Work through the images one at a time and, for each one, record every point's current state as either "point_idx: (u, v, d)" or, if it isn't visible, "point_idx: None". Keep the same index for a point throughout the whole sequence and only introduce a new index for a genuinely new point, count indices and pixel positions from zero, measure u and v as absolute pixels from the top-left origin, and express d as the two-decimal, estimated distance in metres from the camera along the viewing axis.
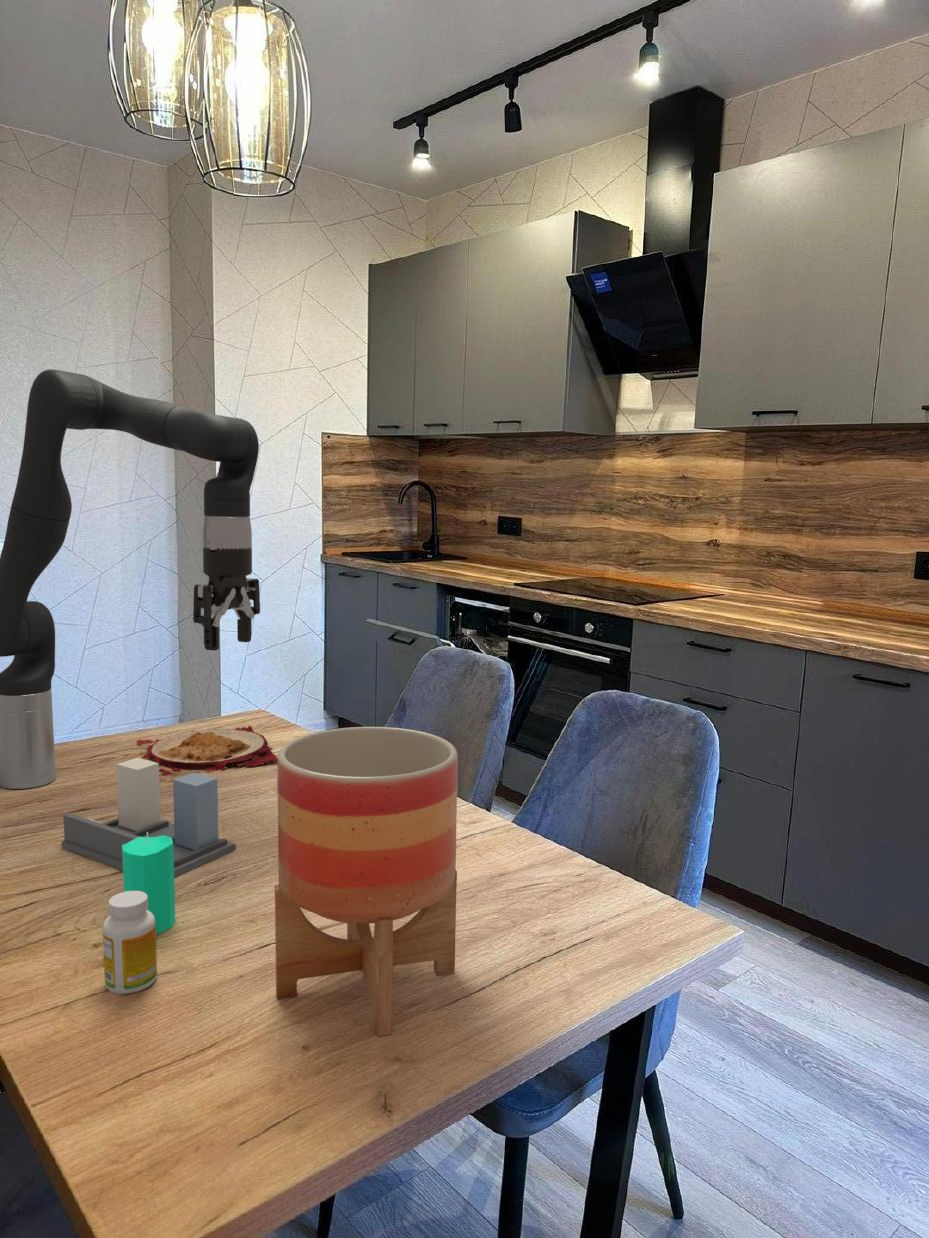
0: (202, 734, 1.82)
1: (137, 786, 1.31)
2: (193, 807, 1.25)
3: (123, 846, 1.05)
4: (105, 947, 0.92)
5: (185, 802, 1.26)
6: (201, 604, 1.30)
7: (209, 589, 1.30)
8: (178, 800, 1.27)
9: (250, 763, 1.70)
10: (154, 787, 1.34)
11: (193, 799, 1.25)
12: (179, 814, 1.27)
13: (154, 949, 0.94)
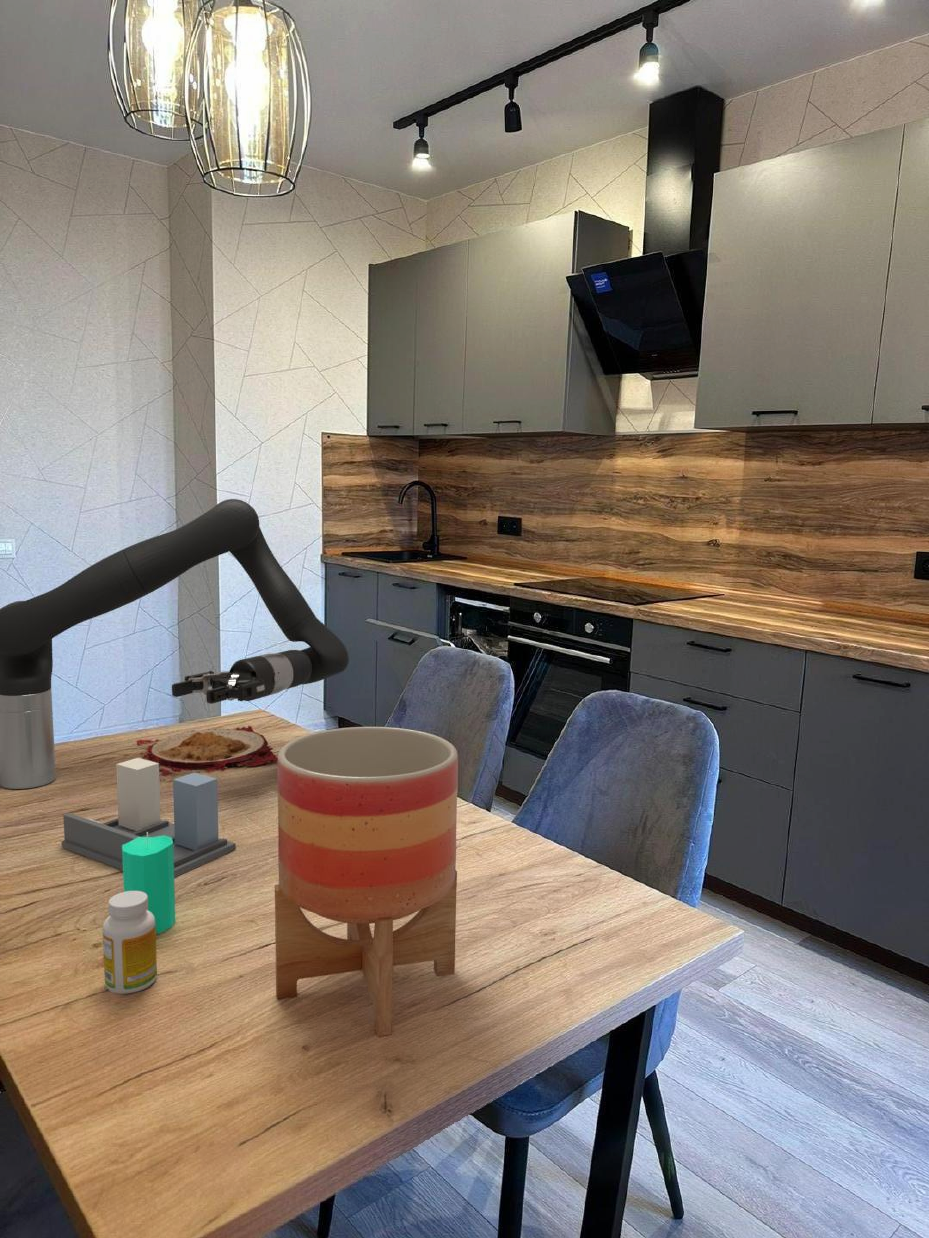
0: (202, 734, 1.82)
1: (137, 786, 1.31)
2: (193, 807, 1.25)
3: (123, 846, 1.05)
4: (105, 947, 0.92)
5: (185, 802, 1.26)
6: (253, 692, 1.44)
7: (261, 694, 1.47)
8: (178, 800, 1.27)
9: (250, 763, 1.70)
10: (154, 787, 1.34)
11: (193, 799, 1.25)
12: (179, 814, 1.27)
13: (154, 949, 0.94)
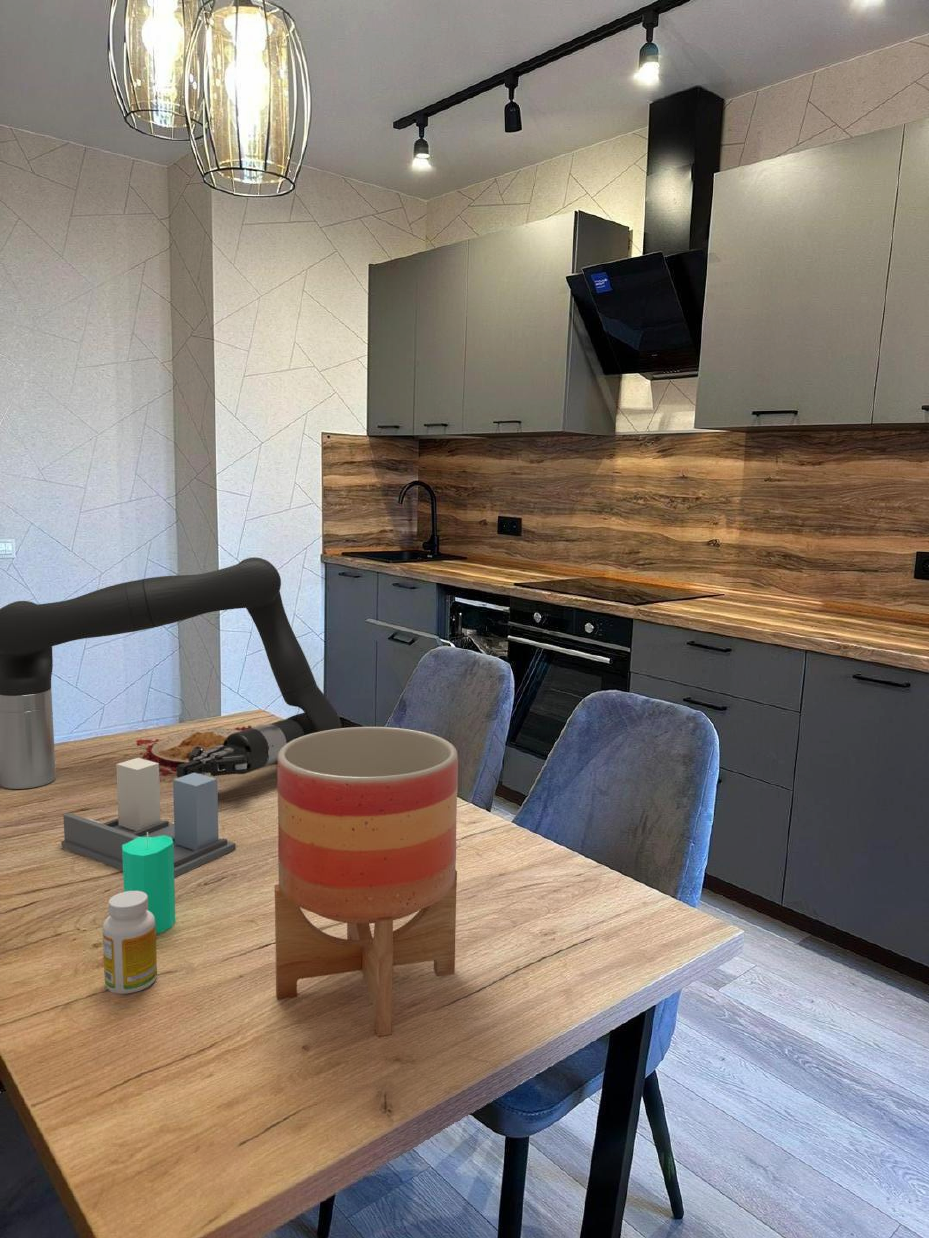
0: (202, 734, 1.82)
1: (137, 786, 1.31)
2: (193, 807, 1.25)
3: (123, 846, 1.05)
4: (105, 947, 0.92)
5: (185, 802, 1.26)
6: (229, 769, 1.45)
7: (243, 772, 1.46)
8: (178, 800, 1.27)
9: None
10: (154, 787, 1.34)
11: (193, 799, 1.25)
12: (179, 814, 1.27)
13: (154, 949, 0.94)
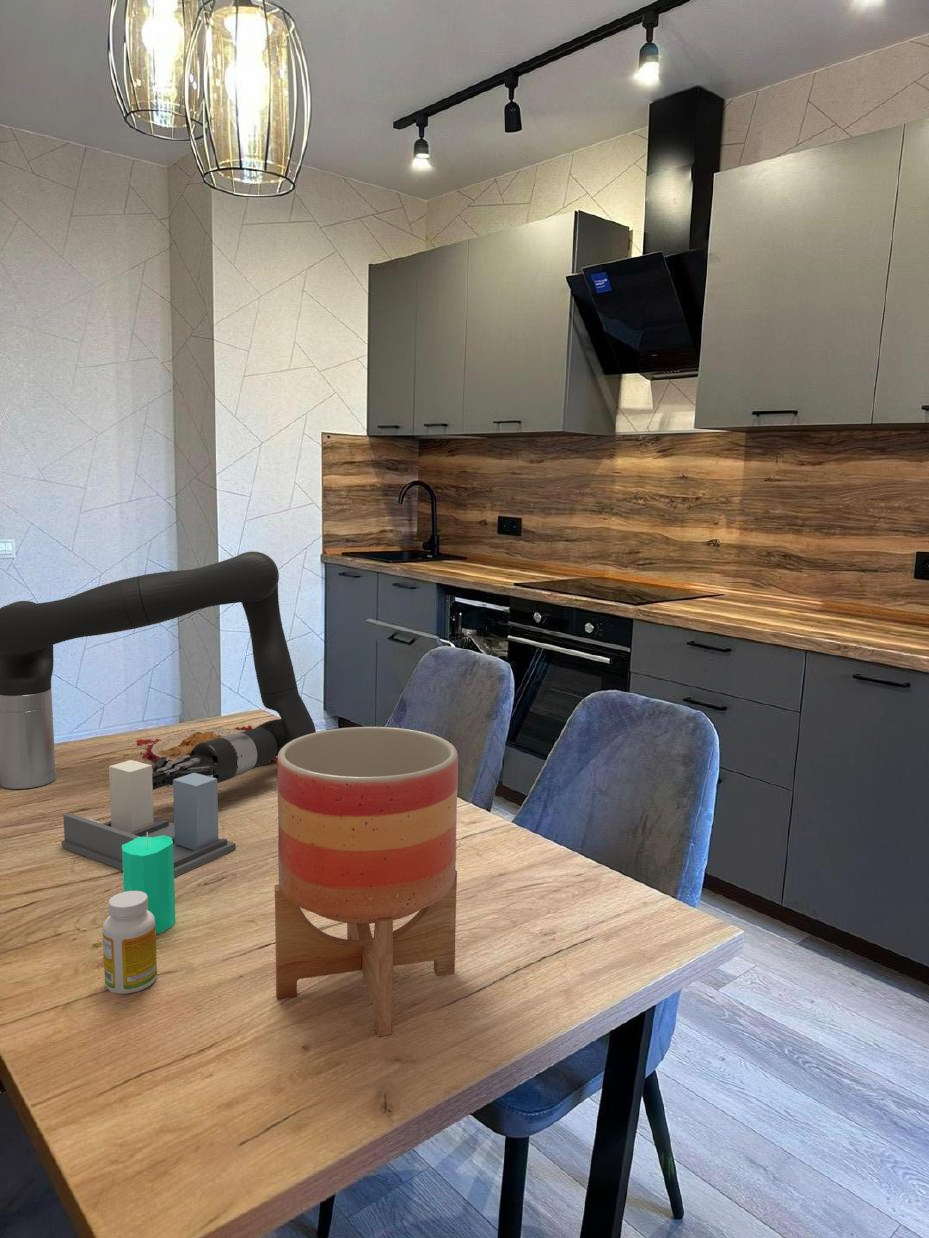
0: (202, 734, 1.82)
1: (129, 788, 1.30)
2: (193, 807, 1.25)
3: (123, 846, 1.05)
4: (105, 947, 0.92)
5: (185, 802, 1.26)
6: None
7: None
8: (178, 800, 1.27)
9: None
10: (147, 789, 1.33)
11: (193, 799, 1.25)
12: (179, 814, 1.27)
13: (154, 949, 0.94)
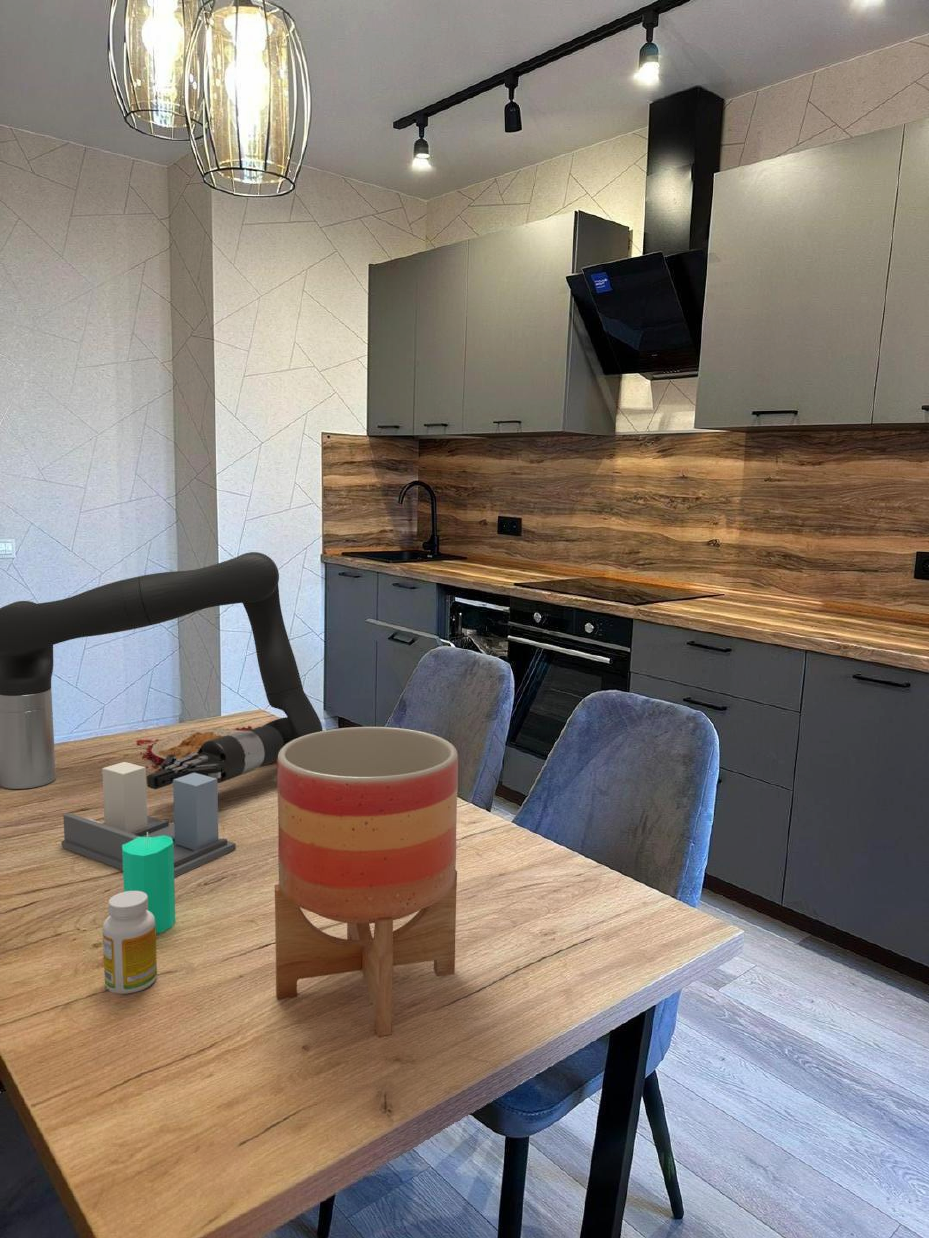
0: (202, 734, 1.82)
1: (123, 790, 1.29)
2: (193, 807, 1.25)
3: (123, 846, 1.05)
4: (105, 947, 0.92)
5: (185, 802, 1.26)
6: None
7: None
8: (178, 800, 1.27)
9: None
10: (141, 792, 1.32)
11: (193, 799, 1.25)
12: (179, 814, 1.27)
13: (154, 949, 0.94)
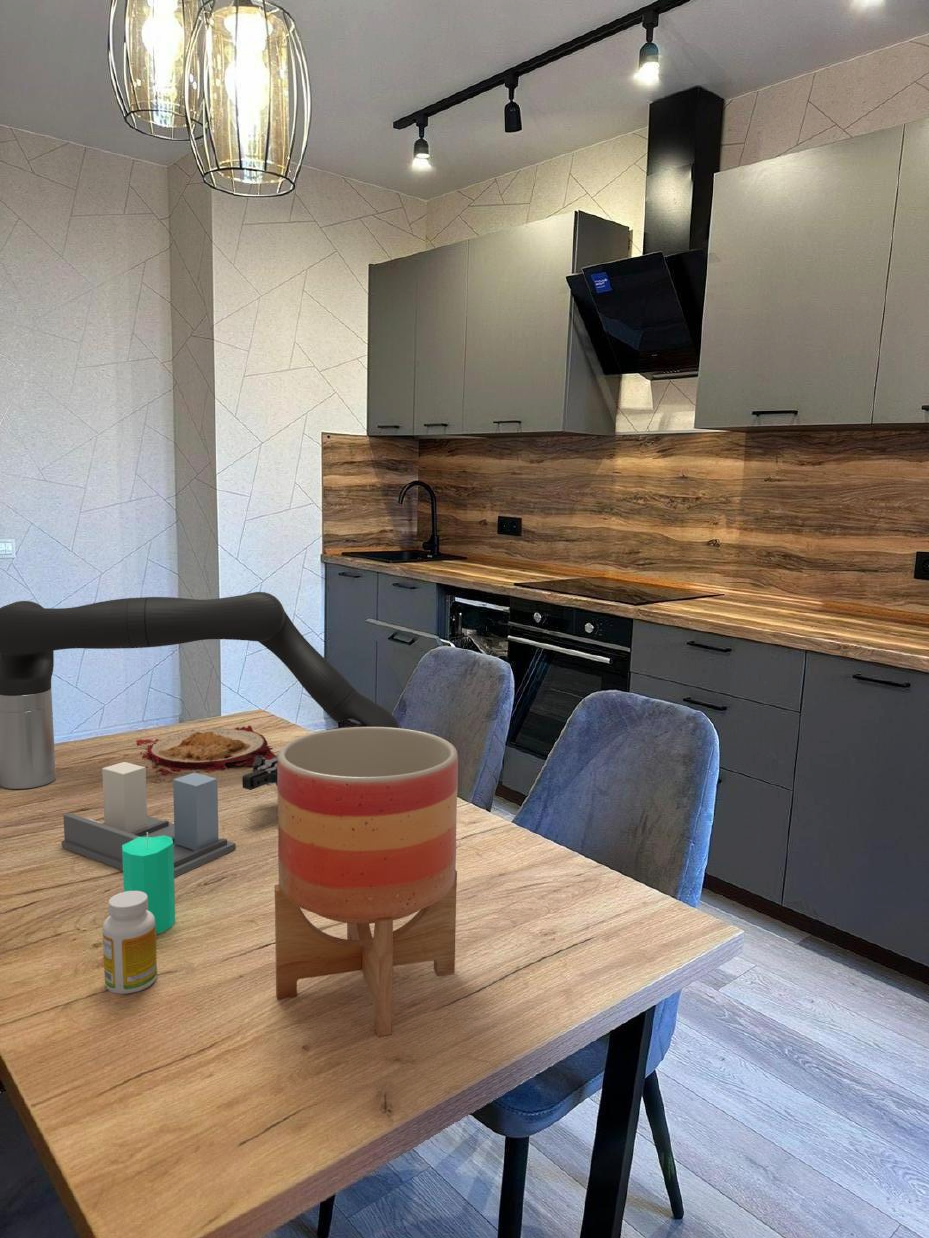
0: (202, 734, 1.82)
1: (123, 790, 1.29)
2: (193, 807, 1.25)
3: (123, 846, 1.05)
4: (105, 947, 0.92)
5: (185, 802, 1.26)
6: None
7: None
8: (178, 800, 1.27)
9: (250, 763, 1.70)
10: (141, 792, 1.32)
11: (193, 799, 1.25)
12: (179, 814, 1.27)
13: (154, 949, 0.94)
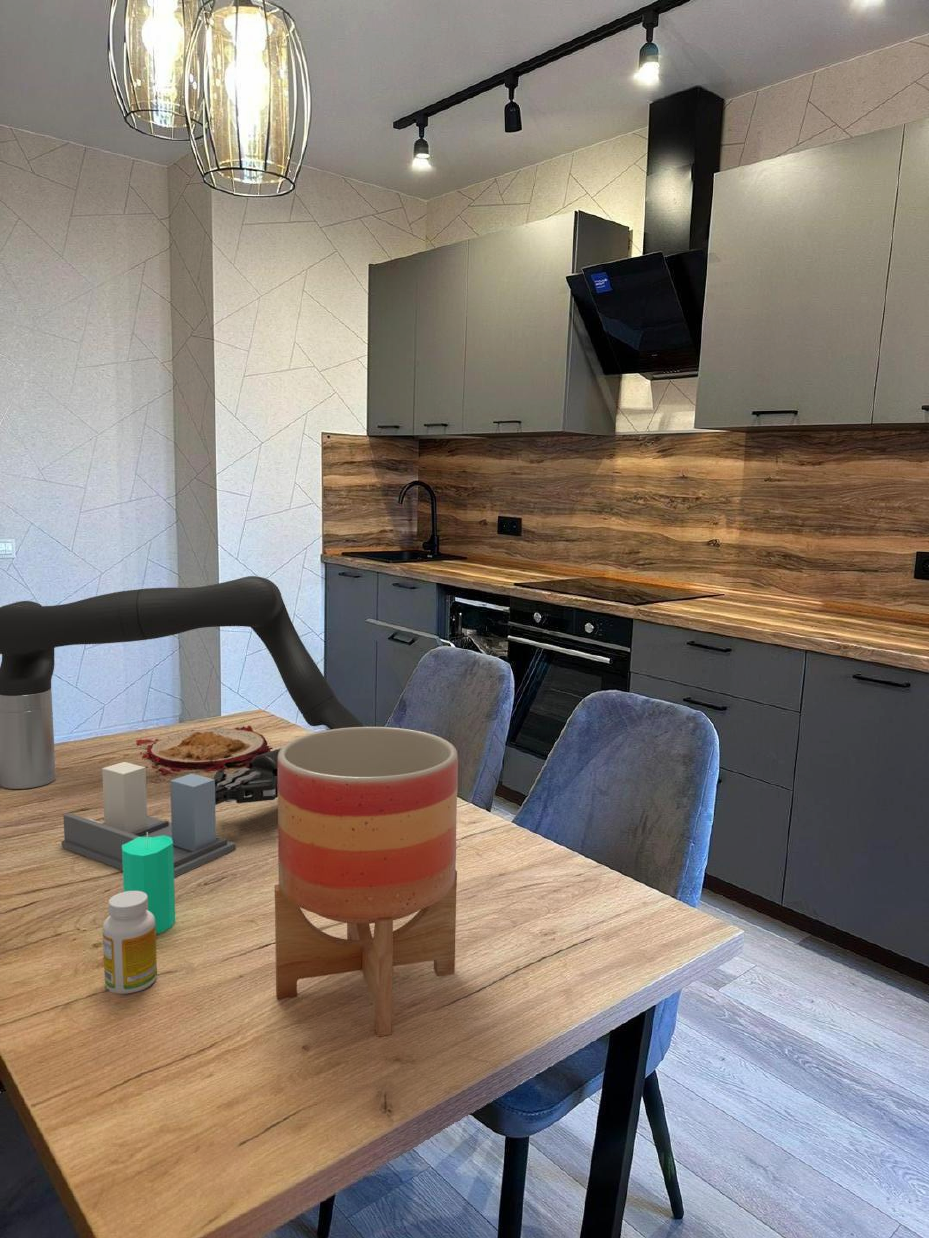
0: (202, 734, 1.82)
1: (123, 790, 1.29)
2: (190, 808, 1.25)
3: (123, 846, 1.05)
4: (105, 947, 0.92)
5: (182, 803, 1.26)
6: (256, 796, 1.32)
7: (271, 799, 1.34)
8: (175, 801, 1.26)
9: None
10: (141, 792, 1.32)
11: (191, 800, 1.25)
12: (177, 815, 1.27)
13: (154, 949, 0.94)
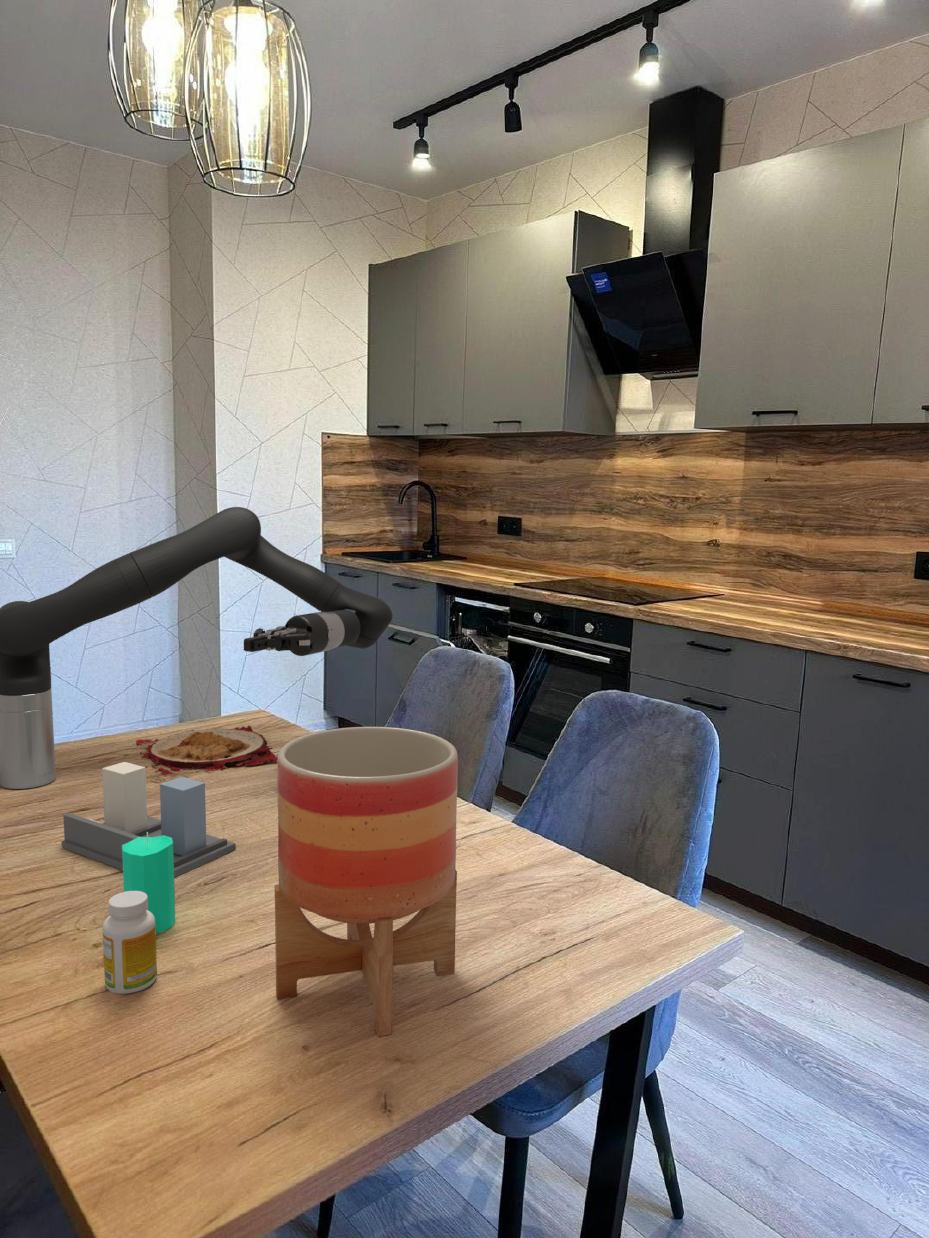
0: (201, 734, 1.82)
1: (123, 790, 1.29)
2: (180, 812, 1.23)
3: (123, 846, 1.05)
4: (105, 947, 0.92)
5: (171, 807, 1.24)
6: (293, 645, 1.48)
7: (306, 649, 1.49)
8: (165, 805, 1.25)
9: (249, 762, 1.70)
10: (141, 792, 1.32)
11: (180, 803, 1.23)
12: (167, 819, 1.25)
13: (154, 949, 0.94)
